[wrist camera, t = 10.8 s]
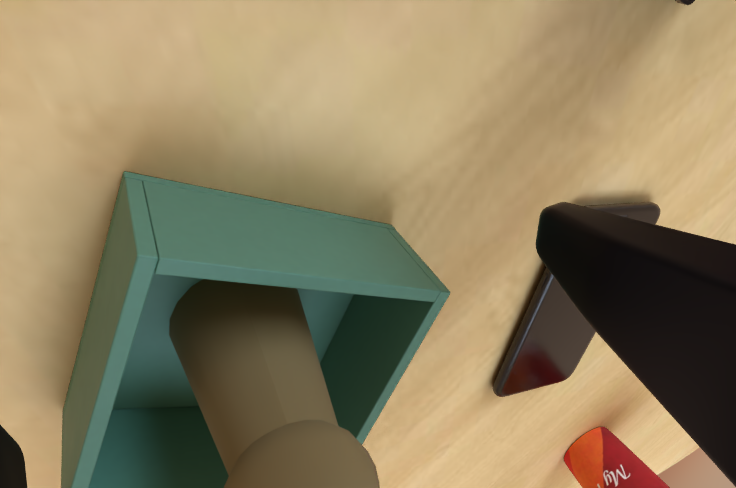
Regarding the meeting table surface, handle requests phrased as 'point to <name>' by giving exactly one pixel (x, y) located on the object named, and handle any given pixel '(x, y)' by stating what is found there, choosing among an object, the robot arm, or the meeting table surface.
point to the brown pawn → (264, 389)
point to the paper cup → (608, 463)
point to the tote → (233, 264)
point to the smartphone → (555, 326)
